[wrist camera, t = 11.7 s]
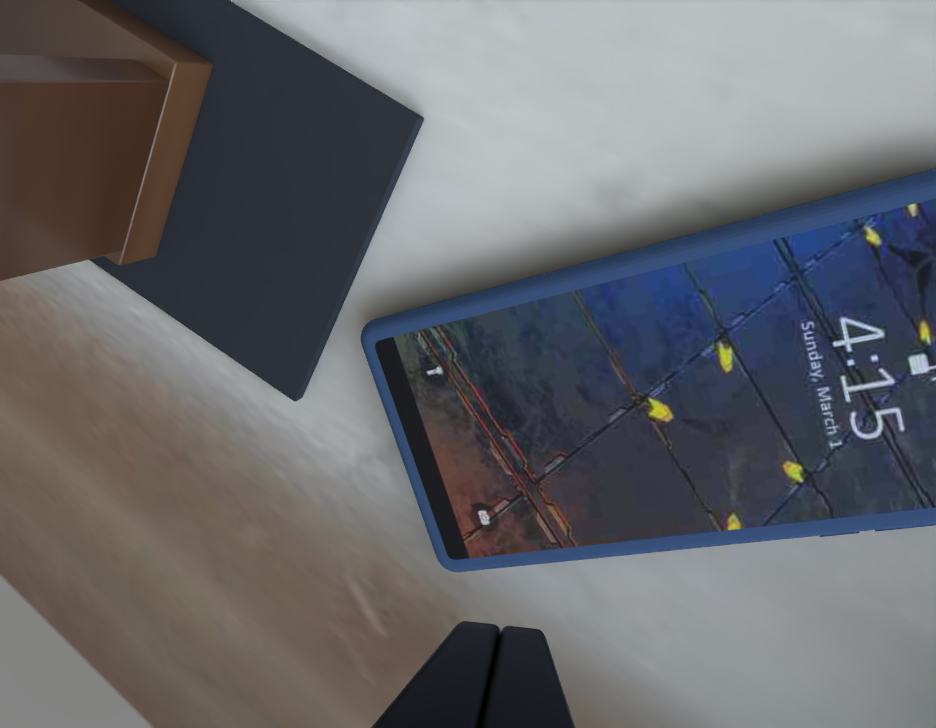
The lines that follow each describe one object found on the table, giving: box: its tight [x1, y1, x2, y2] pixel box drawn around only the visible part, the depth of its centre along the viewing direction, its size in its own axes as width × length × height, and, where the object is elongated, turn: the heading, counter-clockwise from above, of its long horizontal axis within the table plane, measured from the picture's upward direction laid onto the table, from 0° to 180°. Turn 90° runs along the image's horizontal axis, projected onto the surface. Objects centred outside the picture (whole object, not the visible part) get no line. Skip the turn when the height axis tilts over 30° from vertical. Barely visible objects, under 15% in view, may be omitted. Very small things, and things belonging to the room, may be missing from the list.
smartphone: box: [361, 168, 936, 572], centre depth 19 cm, size 8×1×15 cm
